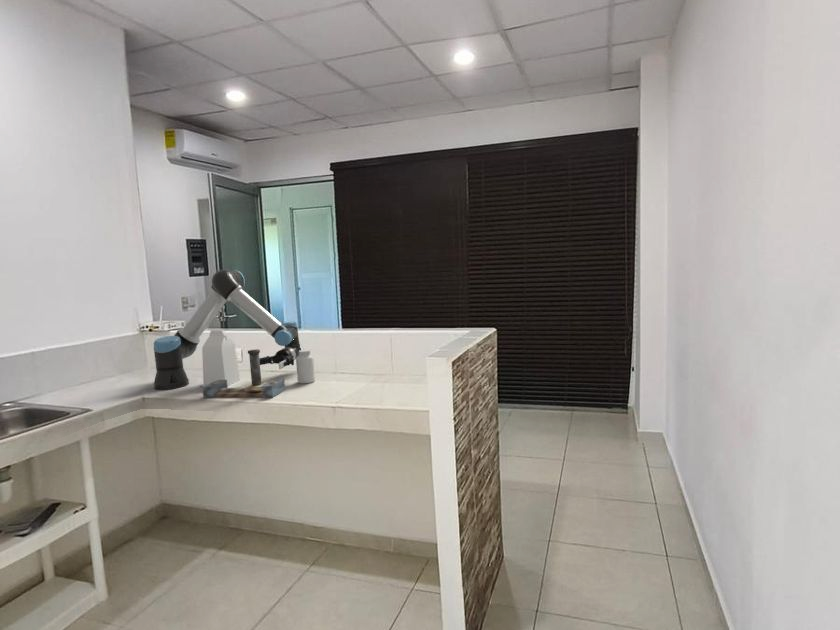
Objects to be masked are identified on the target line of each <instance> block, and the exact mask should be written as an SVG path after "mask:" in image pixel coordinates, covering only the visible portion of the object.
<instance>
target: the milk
mask: <svg viewBox="0 0 840 630" xmlns="http://www.w3.org/2000/svg"><path fill="white" fill-rule="evenodd" d="M201 352H202V353H201V355H202V374H203V375H202V376H203V377H202V379H203V386H205V385H207V384H210V383H212V382H214V381H216V380H227V386H228V387H229V386H231V385H234V384H235V383H238V382H240V381H241V379H240V378H241V377H240V370H239V365H238V364H239V363H238V358H237V352H236V345H235V343H234V342H233V340H231V338H229V337H228V336H227V335H226V331H224V329H211V330H210V332H209V336H208V337H207V339H206V340H205V342H204V343H203V345H202V349H201Z"/></svg>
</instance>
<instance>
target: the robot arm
mask: <svg viewBox="0 0 840 630" xmlns="http://www.w3.org/2000/svg"><path fill="white" fill-rule="evenodd" d="M211 277H212V278H211V286H210V289H211V291H210V292H209V294H208V295H207V297H206V298H205V299H204V301H203V302H202V303H201V304H200V306H199V307H198V308H197V310H196V311H195V312H194V314H193V315H192V316H191V318H190V319H189V321H188V322H187V323H186V324H185V326H184V327H180V328H179V329H178V330H177V331H176V332H175V334H174V335H168V336H163V337H158V338H156V339H155V340H154V341H153V352H154V361H155V368H156V370H155V371H156V373H155V376H154V382H153V389H154V390H161V389H162V390H163V389H165V390H173V389H178V388H179V389H180V388H182V387H186V386H188V385H190V381H189V377H188V375H187V373H186V370H185V369H184V361H183V360H184V359H185V358H189V357H190V356H192V355H193V354H194V353H195V352H196V350H197V347H198V344H199V343H200V341H201V340H200V337H201V335H202V334H203V333H204V331H206V329H207V327H208V326H209V325H210V324H211V323H212V321H213V319H215V317H216V315H218V313H219V312H220V311H221V309H222V308H223V307H224V305H225V304H226V302H230V303H232V304H233V305H235V306H236V307H237V308H238V309H240V310H241V312H243V313H244V314H246V315H247V317H249V318H250V319H251V320H252V321H253V322H255V323H256V324H257V325H258V326H259V327H260V328H262V329H263V330H264V331H265V332H266V333H267V334H269V335H270V336H271V337H272V338H273V339H274V341H275V343H276V344H277V345H278V346H281V347H284V348H282V349H280V350H278V351H277V352H276V353H275V354H274V355H272V356H269V355H267V356H264V357H259V360H260V366H262V365H263V366H264V365H268V364H270V365H274V364H275V365H277V364H278V369H279V370H282V369H283V368H285V367H287V366H290V365H291V366H294V365H295V361H296V359H297V357H299V351H300V350H301V348H300V345H301V343H300V339H299V331H298V329H299V327H298V324H297V322H296V321H293V320H292V321H291V320H290V321H285V322H282V323H281V322H280V321H279V320H278V319H277V318H276V317H275V316H274V315H272V314H271V313H270V312H269V311H268V310H267V309H266V308H265V307H263V306H262V305H261V304H260V303H259V302H257V301H256V300H255V299H254V298H253V297H251V296H250V295H249V294H248V293H247V292H246V291H244V290H243V288H244V287H245V284H246V280H245V277H244V275H243V273H242V272H241V271H239V270H237V269H235V268H234V269H233V268H228V269H220V270H218V271H216V272H215V273H214V274H213V275H212V276H211ZM293 339H294V340H293Z"/></svg>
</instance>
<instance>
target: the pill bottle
mask: <svg viewBox="0 0 840 630" xmlns="http://www.w3.org/2000/svg"><path fill="white" fill-rule="evenodd" d="M295 362H296V364H295V365H296V376H297V377H296V378H297V383H298V384H311V383H314V382H315V381H316V379H315V378H316V377H315V366H314V365H315V363H314V362H315V361H314V357H313V355H311V350H310V349H303V350H300V351H299V357H297V359H295Z"/></svg>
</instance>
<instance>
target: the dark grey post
mask: <svg viewBox="0 0 840 630" xmlns="http://www.w3.org/2000/svg"><path fill="white" fill-rule="evenodd" d="M260 353H261V350H260V349H249V350H247V354H249V355H248V357H249V367H250V369H249V370H250V376H251V377H250V379H251V383H250V384H247V385H246V386H244V388H245V390H247V391H262V386H264V385H265V384H267V383H269V382H270V381H262V375H261V374H262V373H261V365H260V360H259V358H260Z"/></svg>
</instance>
